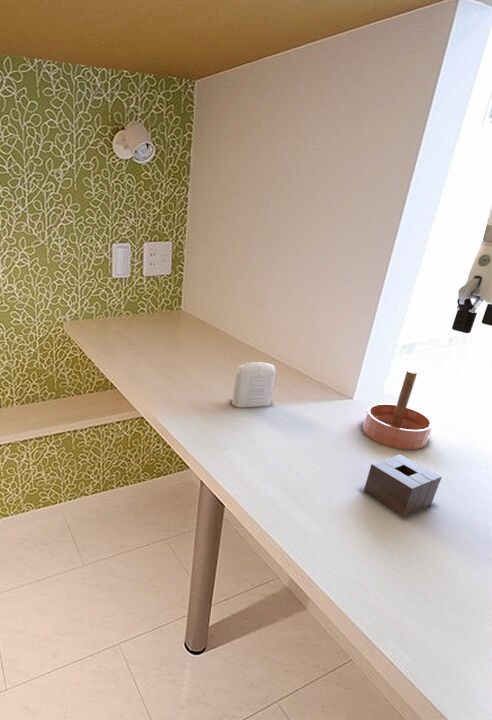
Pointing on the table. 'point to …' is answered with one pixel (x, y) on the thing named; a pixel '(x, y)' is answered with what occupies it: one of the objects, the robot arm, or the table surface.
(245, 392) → the photo printer
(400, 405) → the stick
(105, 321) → the table surface
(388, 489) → the stand
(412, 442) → the bowl
